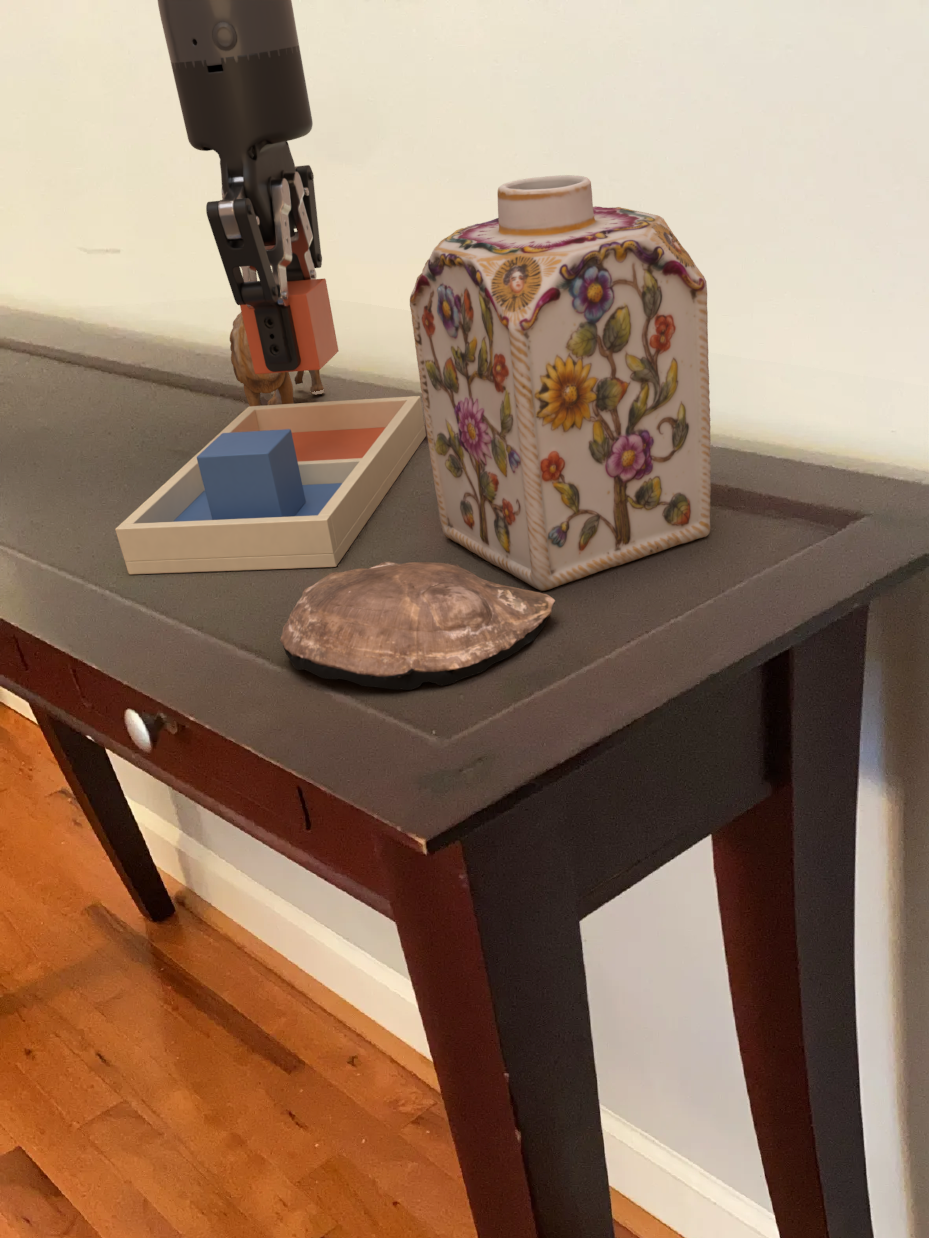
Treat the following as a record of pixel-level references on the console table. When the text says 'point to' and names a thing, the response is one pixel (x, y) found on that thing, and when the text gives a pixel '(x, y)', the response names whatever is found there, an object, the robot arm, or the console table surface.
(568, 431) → the decorative jar
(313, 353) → the terracotta block
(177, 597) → the console table surface
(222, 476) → the blue block
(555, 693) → the console table surface
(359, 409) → the sorting tray
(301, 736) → the console table surface
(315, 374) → the lion figurine
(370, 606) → the shell
